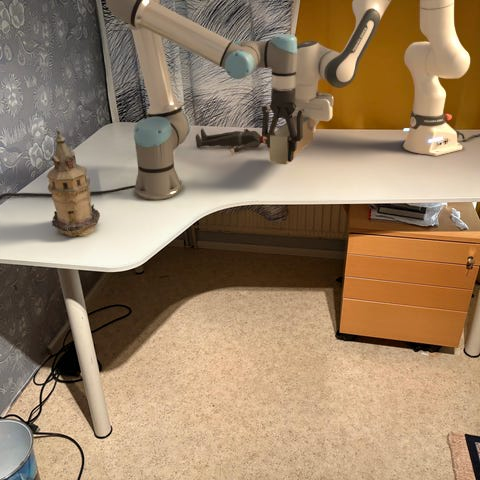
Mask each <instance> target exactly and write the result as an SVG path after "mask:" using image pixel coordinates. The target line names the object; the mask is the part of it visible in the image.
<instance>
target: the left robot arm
mask: <svg viewBox="0 0 480 480" xmlns="http://www.w3.org/2000/svg"><path fill="white" fill-rule="evenodd" d="M162 2H163V0H105V5H106V6H107V8H108V10H109V12H111V14H112V15H113V16H114V17H116V18H117V19H119V20H120V21H123V22H124V25H125V26H126V27H127V28H129V29H130V30H131V33H132V38H133V41H134V45H135V50H136V53H137V57H138V62H139V66H140V71H141V75H142V78H143V82H144V86H145V90H146V95H147V98H148V102H149V107H148V109H147V111H146V114H147V117H146V118H142V119H140V120H138V121H137V123H135V125H134V127H133V139H134V144H135V154H136V161H137V175H136V179H135V184H133V185H129V186H128V185H127V186H122V187H118V188H114V189H106V190H99V191H98V190H97V191H91V192H90V196H91V195H104V194H111V193H117V192H121V191H122V192H123V191H127V190H132V189H134V193H135V195H136V196H137V197H138V198H141V199H143V200H148V201H161V200H168V199H171V198H174V197H176V196H178V195H179V194H180V193H181V192H182V180H181V178H180V177H179V176H178V173H177V171H176V169H175V161H174V160H175V159H174V158H175V157H174V151H175V150H176V149H177V148H178V147H179V146H180V145H181V144H183V143H184V142H185V140H186V139H187V137H188V136H189V134H190V131H191V122H190V119H189V117H188V114H186V113H185V112H184V111H183V107H182V104H181V103H180V102H179V101H177V100H176V97H175V91H174V87H173V83H172V79H171V74H170V70H169V65H168V60H167V56H166V51H165V47H164V43H163V39H165V40H168V41H169V42H171V43H173V44H175V45H177V46H179V47H181V48H183V49H185V50H187V51H189V52H190V53H193V54H195V55H196V56H198V57H200V58H202V59H205V60H206V61H208V62H211V64H214V65H216V66H218V67H220V68H222V69H223V70H225V72H226V73H227V75H228V76H229V77H230V78H232V79H233V80H243V79H245V78H247V77H248V76H250V75H251V74H252V72H253V71H254V70H256V69H257V68H259V69H262V68H263V69H271V82H270V83H271V84H270V87H271V89H270V104H264V105H263V106H261V110H262V112H261V113H262V124H261V125H262V126H261V136H263V137H266V138H267V145H266V148H267V149H270V135H271V134H272V133H273V132H275V131H276V127H277V125H278V122H279V119H284V120H285V123H286V122H287V126H288V130H289V133H290V137H291V141H290V142H289V160H288V162H289V163H290V162H292V161H293V160H294V158H295V157H294V152H295V151H296V149H297V141H300V140H301V139H302V138H303V114H304V109H299V108H297V107H296V105H295V92H296V90H295V87H296V65H297V45H298V37H297V36H296V35H294V34H291V33H278V34H274V35H272V37H271V40H270V41H256V40H236V41H234V42H233V41H231V40H230V39H228V38H225V37H224V36H221V35H220V34H218V33H216V32H214V31H212V30H210V29H208V28H206V27H204V26H202V25H200V24H198V23H197V22H195V21H192V20H191V19H189V18H187V17H185V16H183V15H181V14H179V13H178V12H175V11H173V10H171V9H169V8H168V7H165V6H164V5H162ZM162 38H163V39H162ZM270 111H271V112H272V113H273V114H272V117H271V118H272V119H271V122H270ZM294 111H295V112H296V115H297V118H296V122H297V135H296V131H295V127H294V123H293V116H292V114H293V112H294ZM269 122H270V123H269ZM269 124H270V126H269ZM293 157H294V158H293ZM4 197H52V193H49V192H48V193H47V192H46V193H42V192H41V193H40V192H39V193H37V192H18V193H17V192H15V193H14V192H5V193H2V194H0V200H2V198H4ZM13 289H14V292H15V291H16V292H17V291H18V286H17V284H13Z"/></svg>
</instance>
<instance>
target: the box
mask: <svg viewBox="0 0 480 480" xmlns="http://www.w3.org/2000/svg"><path fill="white" fill-rule="evenodd" d="M296 118H297V117H296V116H294V117H293V123H294V127H295V131H296V135H297V122H296ZM314 124H315V123H314V120H312V119H310V118H305V117H303V138H302V139H301V140H300V141H297V149H296V151H295V152H294V157H293V159H294V158H296V156H297V155H298V154H299V153H300V152H302V151H303V150H304V149H305V147H307V146H308V145H310V143H311V142H312V141H313V140H314V132H311V131H310V130H311V129H310V127H311V126H314ZM290 141H291V137H290V133H289V130H288V126H287V122H286V121H285V122H284V124H282V125H281V126H280V127H278V129H275V131H274V132H273V133H272V134H271V135H270V148H269V163H274V164H278V165H279V164H280V165H288V164H289V163H290V162H288V160H289V142H290Z"/></svg>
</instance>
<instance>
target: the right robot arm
mask: <svg viewBox="0 0 480 480" xmlns="http://www.w3.org/2000/svg"><path fill="white" fill-rule="evenodd" d="M391 2H392V0H352V2H351V7H352V12H353V13H352V14H353V15H354V17H355V27H354V30H353V32H352V33H351V35H350V37H349V39H348V41H347V43H346V44H345V47H344V48H343V50H342V51H341V52H338V51H336V50H333V49H331V48H327V47H325V46H324V45H322V44H320V43H319V42H318V41H316V40H305V41H302V42H300V43H297V65H296V87H295V90H296V92H295V105H296V107H297V108H299V109H304V114H303V117H305V118H310V119H312V120H314V126H311V127H310V129H311V130H310V131H311V132H313V133H315V132H316V129H317V125H318V124H319V123H320V121H321V122H329V121H330V120H332V119H333V116H334V115H333V110H334V109H333V106H334V100H335V99H334V96H333V95H331V94H330V93H328V92H325V93H324V92H319V81H320V80H324V81H326V82H327V83H328V84H329V85H330V86H332V87H334V88H336V89H342V88H346V87H347V86H349V85H350V84H351V83H353V81H354V80H355V78H356V76H357V73H358V68H359V64H360V62H361V60H362V58H363V56H364V54H365V52H366V51H367V48H368V47H369V44H370V43H371V41H372V39H373V37H374V35H375V33H376V31H377V30H378V27H379V24H380V22H381V19H382V17H383V16H384V13H385V12H386V10H387V8H388V6H389V5H390V3H391ZM419 30H420V31H421V33H422V34H423V36H425V37H426V39H427V40H428V41H416V42H415V41H414V42H412V43H411V44H410V45H408V47H407V48H406V49H405V52H404V56H403V60H404V65H405V67H407V69H408V70H409V72H410V74H411V77H412V81H413V87H414V95H413V96H414V97H413V105H412V110H411V112H410V117H409V128H407V127H406V128H403V132H407V135H406V137H405V140H404V143H403V144H402V147H403V149H404V150H406V151H408V152H411V153H417V154H422V155H429V156H434V157H435V156H436V157H437V156H441V155H445V154H448V153H453V152H457V151H462V150H463V145H462V144H460V143H459V142H458V139H459V136H461V137H462V142H468V141H470V140H472V139H473V138H475V137H480V133H476V134H477V135H476V134H472V135H471V136H469V137H468V138H467V139H466V138H465V135H464V134H463V133H462V132H460V131H459V130H457V129H455V128H453V127H451V126H450V124H448V123H447V121H451V119H452V118H453V116H452V114H449V113H445V112H444V108H445V103H446V97H447V93H446V90H445V88H444V87H443V86H442V85H441V82H440V80H439V78H441V79H446V80H448V79H450V80H453V79H461V78H462V77H464V75H466V73H467V72H468V70H469V68H470V65H471V57H470V54H469V52H468V51H467V50H466V49H465V48H464V46H463V45H462V43H461V42H460V39H459V37H458V34H457V32H456V27H455V0H419ZM292 116H293V117H294V116H296V117H297V115H296V112H295V111H294V112H293V114H292ZM446 120H447V121H446ZM463 139H465V140H463Z"/></svg>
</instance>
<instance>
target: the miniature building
mask: <svg viewBox="0 0 480 480" xmlns="http://www.w3.org/2000/svg"><path fill="white" fill-rule="evenodd" d="M56 134H57V136H56V138H55V140H54V141H55V142H56V147H55V154H54V156H52V157H51V161H52V162H53V165H54V167H53V168H51V169H50V170H49V171H48V173H47V174H46V178H47V179H48V182H49V184H48V186H47V190H48V191H49V193H50V194H52V196H51V200H52V201H53V205H54V209H55V211H53V217H52V220H51V223H52V225H51V227H54V228H56V229H58V230H59V231H60V234H63V235H64V234H65V235H66V236H69V237H77V236H80V237H83V236H87V235H88V234H90V233H93V232H94V231H95V229H96V226H97V225H98V223H99V220H100V216H101V213H100V212H99V210H98V209H96V208H95V204H92V201H91V200H92V199H91V198H92V197H91V195H90V192H92V190H91V188H90V184H91V178H89V177H88V174H87V167H85V166H84V165H83V166H82V165H80V164H77V160H76V154H75V151H74V150H70V149H69V147H68V145H67V143H66V138H65V137H64V136H63V135H61V130H60V129H56Z"/></svg>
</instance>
